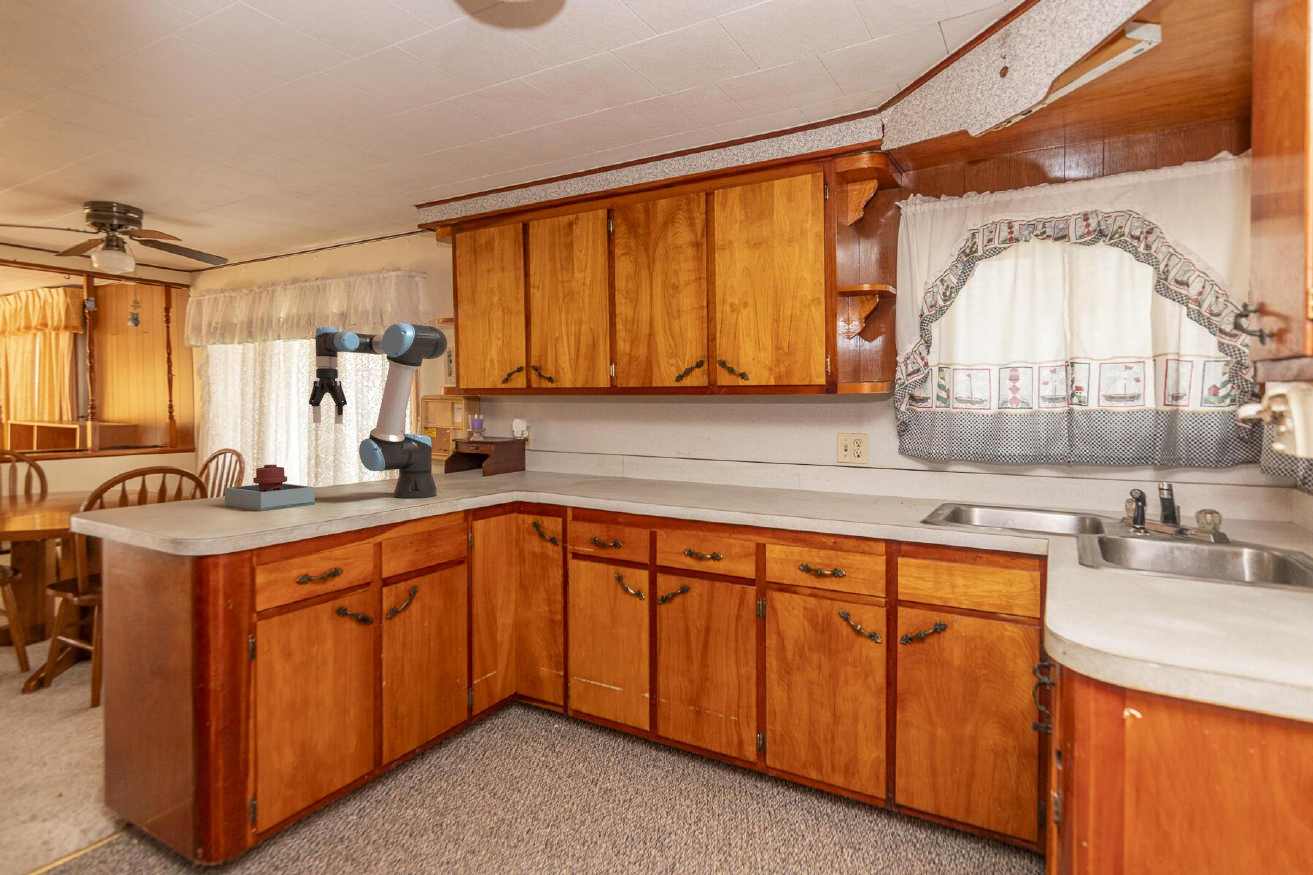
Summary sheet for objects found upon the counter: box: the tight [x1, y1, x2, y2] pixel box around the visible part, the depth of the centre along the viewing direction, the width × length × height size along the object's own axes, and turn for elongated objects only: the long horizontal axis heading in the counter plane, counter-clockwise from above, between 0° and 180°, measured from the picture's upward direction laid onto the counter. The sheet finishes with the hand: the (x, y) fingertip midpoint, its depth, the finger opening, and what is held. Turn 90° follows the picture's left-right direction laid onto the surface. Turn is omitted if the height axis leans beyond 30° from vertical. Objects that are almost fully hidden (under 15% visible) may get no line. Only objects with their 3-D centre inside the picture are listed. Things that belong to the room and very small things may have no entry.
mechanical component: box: [252, 464, 288, 492], centre depth 231 cm, size 12×10×10 cm
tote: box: [224, 482, 315, 512], centre depth 232 cm, size 22×18×6 cm
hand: (327, 423), depth 264 cm, fingers open, 13 cm apart
